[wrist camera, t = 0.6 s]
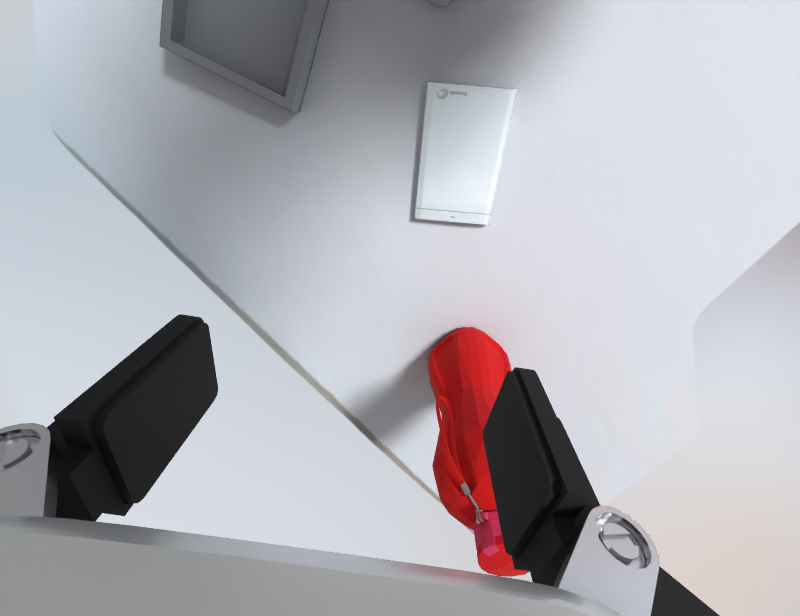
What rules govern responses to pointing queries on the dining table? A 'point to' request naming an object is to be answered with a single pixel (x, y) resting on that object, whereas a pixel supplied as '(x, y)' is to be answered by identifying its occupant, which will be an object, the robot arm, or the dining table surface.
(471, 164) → the hard drive
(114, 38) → the dining table surface
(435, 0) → the post
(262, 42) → the gray square tray
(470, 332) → the water bottle
